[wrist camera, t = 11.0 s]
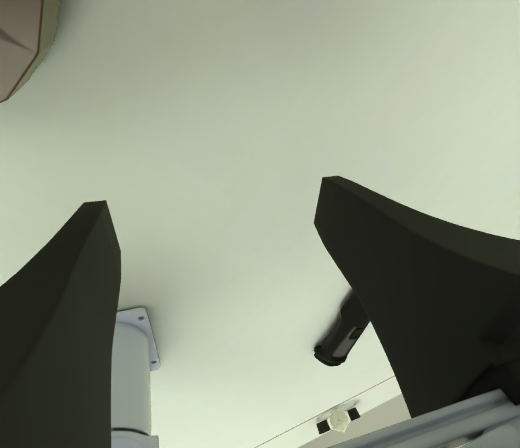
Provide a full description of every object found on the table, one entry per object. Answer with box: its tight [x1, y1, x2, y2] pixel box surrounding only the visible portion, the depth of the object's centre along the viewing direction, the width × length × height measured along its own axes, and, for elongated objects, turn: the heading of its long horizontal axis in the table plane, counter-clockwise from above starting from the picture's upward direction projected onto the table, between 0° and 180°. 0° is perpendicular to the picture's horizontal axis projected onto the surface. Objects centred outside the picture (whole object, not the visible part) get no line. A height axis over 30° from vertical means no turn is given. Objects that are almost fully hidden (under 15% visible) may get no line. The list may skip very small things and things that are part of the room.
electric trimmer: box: [314, 293, 370, 366], centre depth 36 cm, size 4×16×3 cm, turn 163°
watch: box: [316, 408, 360, 434], centre depth 55 cm, size 8×5×4 cm, turn 102°
